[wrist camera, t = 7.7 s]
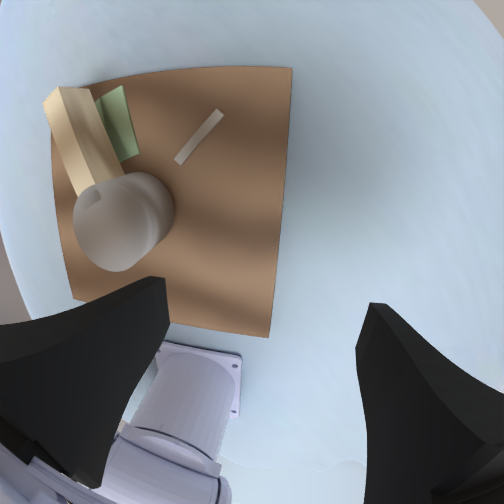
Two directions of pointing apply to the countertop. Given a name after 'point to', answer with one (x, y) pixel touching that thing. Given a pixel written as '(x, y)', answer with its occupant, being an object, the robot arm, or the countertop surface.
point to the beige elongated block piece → (106, 186)
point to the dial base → (197, 189)
